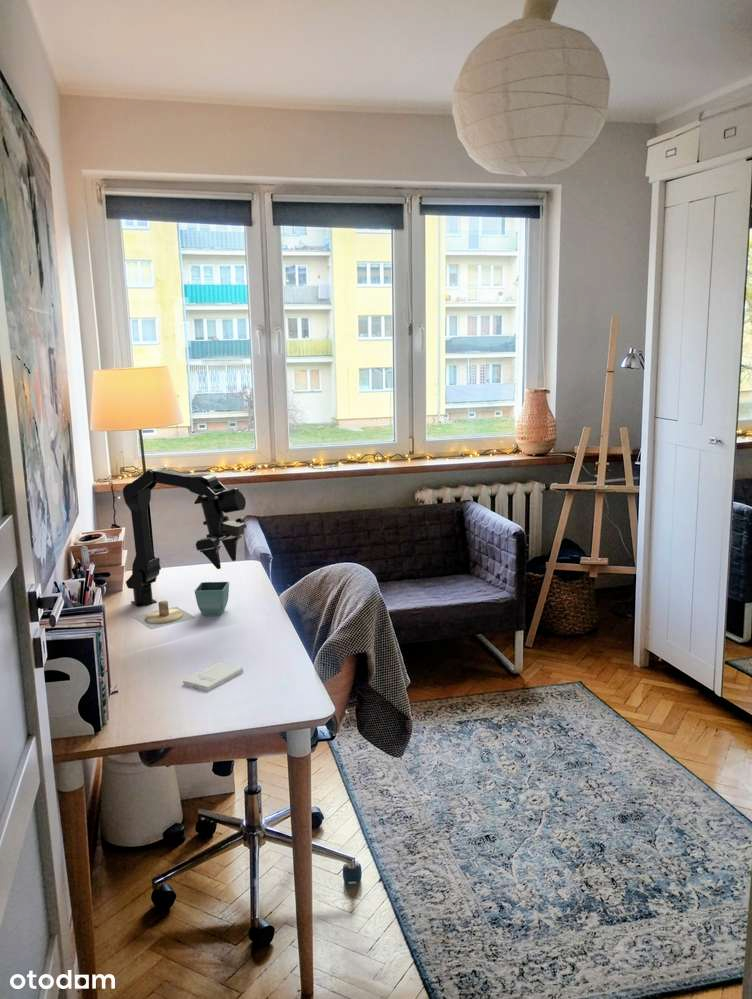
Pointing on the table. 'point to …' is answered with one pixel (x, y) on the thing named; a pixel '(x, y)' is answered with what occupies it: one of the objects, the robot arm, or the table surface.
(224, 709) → the table surface
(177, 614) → the lid
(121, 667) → the table surface
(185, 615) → the mat
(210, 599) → the flower pot
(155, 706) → the table surface
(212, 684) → the external hard drive
